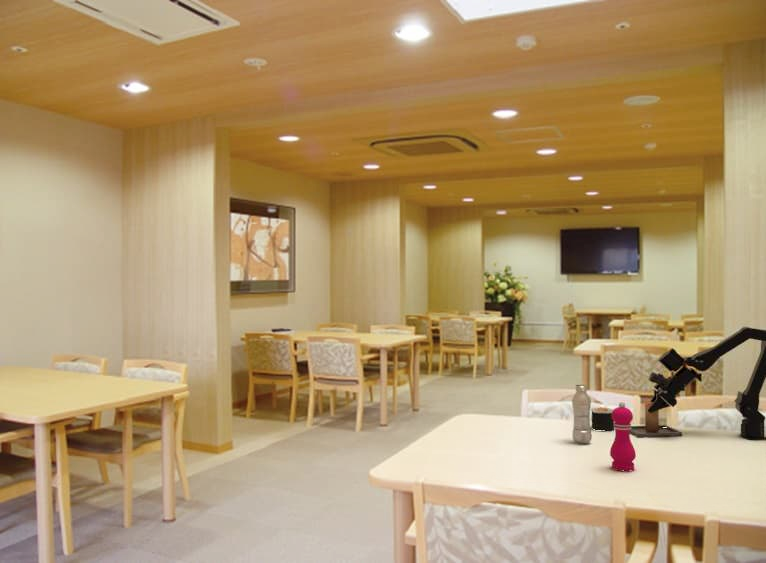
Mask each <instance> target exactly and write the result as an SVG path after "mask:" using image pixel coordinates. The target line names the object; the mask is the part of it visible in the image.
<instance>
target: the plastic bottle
mask: <svg viewBox="0 0 766 563" xmlns="http://www.w3.org/2000/svg"><path fill="white" fill-rule="evenodd" d="M587 391H588V388H587V385H586V384H575V393H574V394H573V396H572V399H571V404H572V410H573V412H572V413H573V428H572V440H573V441H574V443H578V444H581V443H583V444H590V442H591V441H592V437H593V436H592V430H591V421H590V418H591V417H590V416H591V415H590V414H591V413H590V412H591V406H592V405H591V404H592V403H591V402H592V400H591V398H590V397H591V396H590V395H588V393H587Z"/></svg>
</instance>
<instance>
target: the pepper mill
mask: <svg viewBox="0 0 766 563" xmlns="http://www.w3.org/2000/svg"><path fill="white" fill-rule="evenodd" d="M612 410H613V411H612V419H613V420H614V430H615V433H614V434H615V437H614V440H613V442H612V445H611V447H610V451H609V456H610V458H611V459H612V461H611V469H613V468H614V469H617V470H624V471H628V472H631V471H630V470H633V471H634V470H635V463H634V462H633V461H634V460H636V456H637V455H636V454H637V453H636V450H635V447H634V445H633V444H632V441H631V437H630V435H631V434H630V429H631V426H632V424H631V422H632V421H633V419H634V415H633V412H632V411H631V409H630V408H628V407H626V404H625V401H624V402H623V401H620V402H619V403H618V407H616V408H614V409H612ZM614 469H613V470H614ZM617 470H616V471H617ZM624 471H623V472H624Z"/></svg>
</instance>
